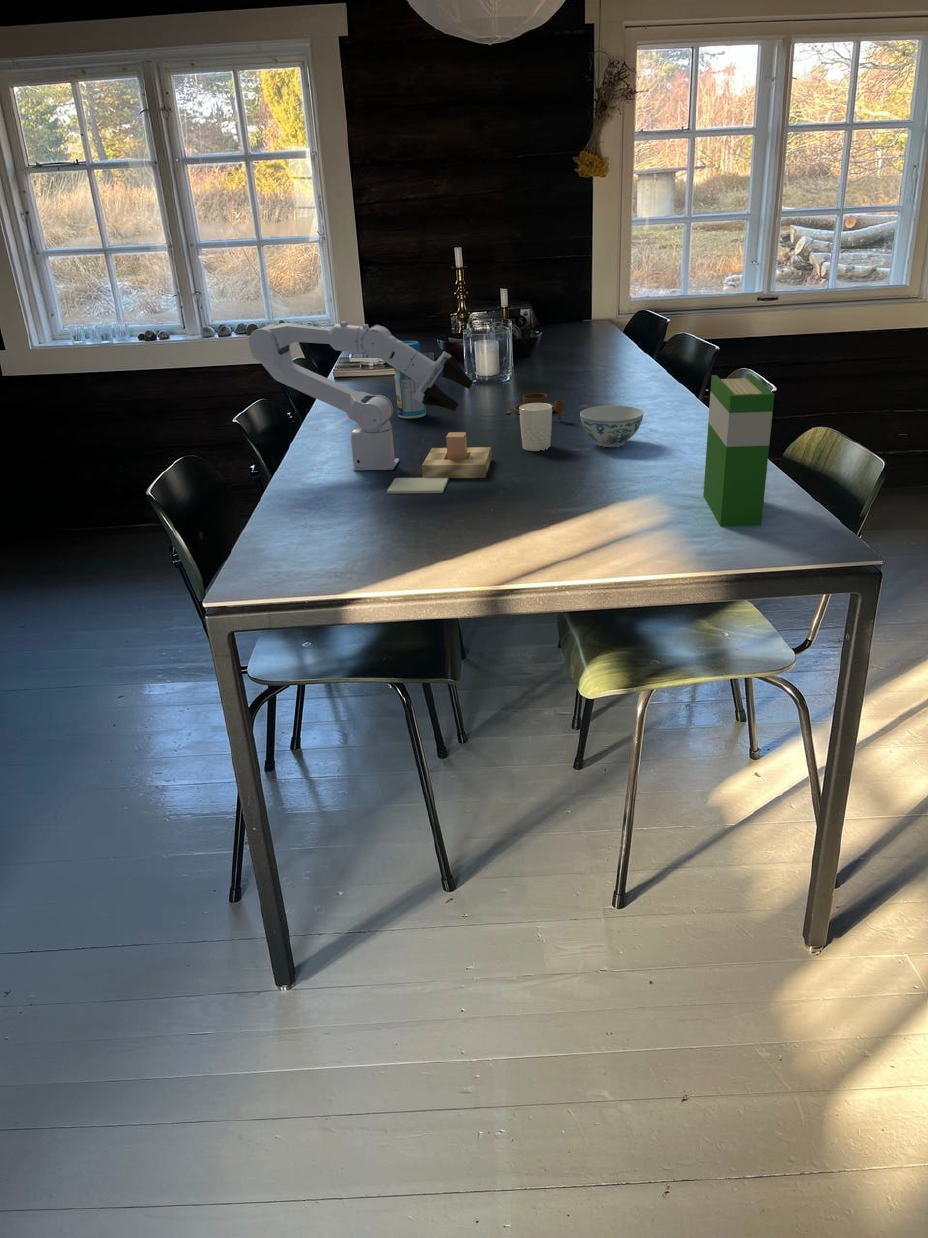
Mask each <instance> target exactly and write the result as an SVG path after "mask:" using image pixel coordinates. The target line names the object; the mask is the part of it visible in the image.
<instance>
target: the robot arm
mask: <svg viewBox="0 0 928 1238" xmlns="http://www.w3.org/2000/svg"><path fill="white" fill-rule="evenodd" d="M294 343H308V344H309V343H310V344H311V343H312V344H327V345H330V347H332V349H333V350H335V351H339V352H340V351H341V352H349V353H358V354H363V353H366V356H367V357H370V358H378V359H381V360H383V362H384V363H385V362H386V363H387V364H388V365H389V366H391V367H393V369H394V368H396V369H397V370H399V371H400V372H402V373H404V374H405V375H407V376H408V377H410V378H411V379H413V380H414V381H416V382H418V383H419V384H421V385H420V386H419V388H418V389H417V391H416V392H415V395H414V397H413V398H414V399H416V400H417V401H419V402H421V401H422V399H423V402H422V403H423V404H424V405H426V406H433V407H434V406H436V407H441V408H445V409H448V410H451V411H453V412H455V411H456V409H457V407H458V406H459V403H458V402H457V401H456V400H454V399H453V398H452V397H450V396H449V395H447V394H446V393H445V392H443V391H442V390H441V389H440V388H439V387H438V385H437V384H436V383H434V382H435V381H436V379H438V377H439V376H440V374H441V373H442V375H441V377H442V378H444V379H447V380H450V381H453V382H455V383H457V384H459V385H460V386H462V387H464V388H466V389H469V390H470V388H471V387H472V385H473V383H474V381H473V380H472V379H471V378H470V377H469V376H468V375H467V374H466V373H465V371H464V370H463V369H462V367H461V366H460V364H459V363H458V362H457V359H456V357H455V356H453V355H451V354H450V353H449V352H447V351H443V352H442V354H441V355H440V356H438V359H437V360H434V361H433V360H432V359H430V358H429V357H427V356H426V355H424V354H423V353H421V352H420V353H419V352H418V351H416V350H415V349H413V348H412V347H410V346H408V345H407V344H405V343H404V342H402V340H399V339H398V338H397V337H395V336H394V335H392V333H391V330H389V329H388V328H387V327H385V326H382V325H380V324H375V325H373V326H371V327H369V324H367V323H364V324H362V325H353V324H348V321H344V320H342V321H341V322H339V323H336V324H334V325H333V326H332V327H331V328H326V327H321V326H312V325H306V324H298V323H289V322H281V323H278V322H271V323H269V324H267V325H266V326H264V327H261V328H257V329H255V330H253V331H251V333H250V334H249V337H248V346H249V350H250V353H251V354H252V358H253V359H254V360H256V361H257V362H258V363H260V364H261V365H262V366H263V367H264V368H265V370H266V371H267V372H268V374H270V376H271V377H272V378H273V379H274V380H275V381H277V382H279V383H280V384H283V385H286V386H287V387H290V388H292V389H294V390H297V391H298V392H301V393H303V394H305V395H307V396H309V397H311V398H314V399H316V400H318V401H321V402H323V403H325V404H327V405H330V406H331V407H334V408H336V409H338V410H341V411H342V412H344V413H346V415H347V416H348V418H349V419H350V420H352V421H355V422H356V423H357V425H358V426H359V427H360V428H354V429H353V430H352V431H351V436H350V437H351V439H350V442H351V443H350V444H351V454H352V462H353V463H352V464H353V468H352V469H353V471H393V470H394V469H395V467H396V466H397V464H398V463H399V461H400V458H395V450H394V436H393V427H392V423H391V421H390V419H391V417H392V416H393V413H394V408H393V404H392V402H391V400H390V399H389V398H388V397H386V396H384V395H382V394H377V395H376V394H371V393H368V392H367V391H366V392H365V391H356V390H354V389H352V388H350V387H347V386H346V385H345V386H344V385H343V384H341V383H338V382H336V381H334V380H332V379H330V378H327V377H326V376H323V375H321V374H318V373H316V372H314V371H311V370H309V369H308V368H305V367H303V366H301V365H299V364H296V363H295V362H294V361H293V360H294V359H293V357H292V353H291V345H292V344H294Z"/></svg>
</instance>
